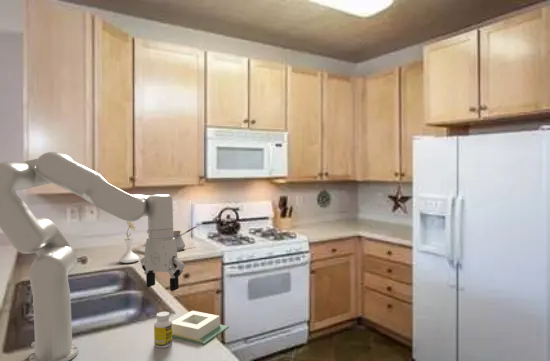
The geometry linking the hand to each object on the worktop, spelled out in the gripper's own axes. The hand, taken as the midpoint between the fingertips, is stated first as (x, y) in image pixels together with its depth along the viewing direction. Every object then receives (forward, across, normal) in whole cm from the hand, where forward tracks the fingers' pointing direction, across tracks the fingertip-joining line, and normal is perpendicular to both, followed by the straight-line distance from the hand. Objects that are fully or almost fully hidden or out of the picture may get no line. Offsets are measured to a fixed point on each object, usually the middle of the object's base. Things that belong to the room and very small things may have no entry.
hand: (162, 287), depth 120 cm
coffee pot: (+18, -89, +115) cm, 147 cm away
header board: (+18, +3, +12) cm, 22 cm away
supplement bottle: (+18, 0, 0) cm, 18 cm away
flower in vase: (+18, -96, +74) cm, 123 cm away
